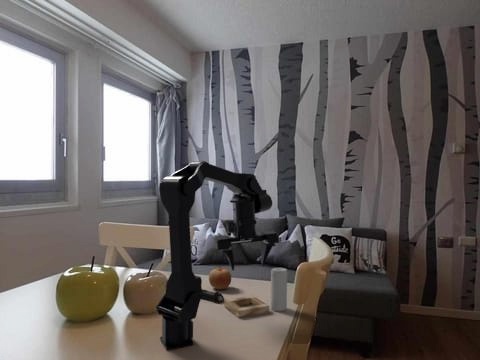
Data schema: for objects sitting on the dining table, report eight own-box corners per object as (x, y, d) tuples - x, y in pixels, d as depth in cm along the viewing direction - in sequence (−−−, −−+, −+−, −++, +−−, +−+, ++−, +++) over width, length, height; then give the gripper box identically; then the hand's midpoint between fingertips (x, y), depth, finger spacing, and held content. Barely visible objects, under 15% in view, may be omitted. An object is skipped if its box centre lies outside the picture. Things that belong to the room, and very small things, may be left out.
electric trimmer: (189, 293, 124) (189, 283, 124) (225, 301, 115) (225, 291, 115) (181, 295, 121) (181, 286, 121) (218, 305, 112) (217, 294, 112)
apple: (207, 285, 131) (207, 263, 131) (229, 284, 133) (229, 263, 132) (209, 292, 123) (210, 269, 123) (232, 291, 125) (233, 268, 125)
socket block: (238, 318, 101) (238, 310, 101) (223, 306, 110) (224, 299, 110) (269, 312, 106) (269, 305, 105) (252, 301, 114) (252, 295, 114)
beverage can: (273, 312, 105) (274, 271, 105) (268, 307, 110) (268, 267, 110) (289, 311, 107) (289, 271, 106) (283, 305, 111) (283, 267, 111)
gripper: (266, 209, 116) (268, 256, 117) (209, 214, 111) (212, 264, 112) (278, 214, 105) (281, 267, 106) (216, 221, 100) (219, 275, 102)
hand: (247, 268), depth 107 cm, fingers open, 9 cm apart
